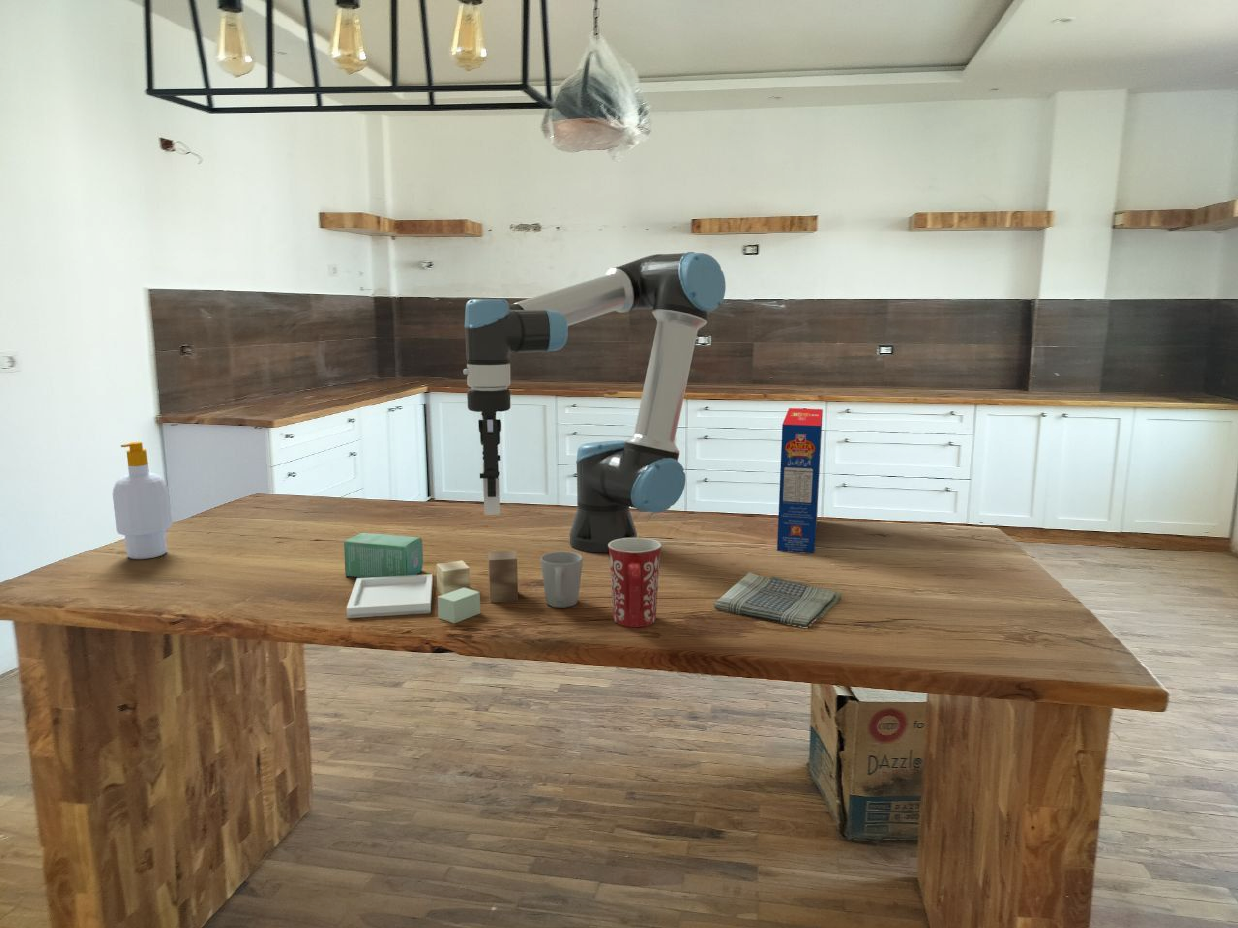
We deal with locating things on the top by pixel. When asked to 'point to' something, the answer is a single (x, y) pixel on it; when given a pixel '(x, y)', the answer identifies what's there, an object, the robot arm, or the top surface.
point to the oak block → (452, 576)
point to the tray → (390, 596)
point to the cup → (561, 578)
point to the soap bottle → (142, 507)
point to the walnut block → (503, 576)
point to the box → (382, 555)
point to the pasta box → (799, 480)
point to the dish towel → (777, 600)
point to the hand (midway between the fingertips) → (491, 504)
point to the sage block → (459, 605)
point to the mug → (634, 580)
